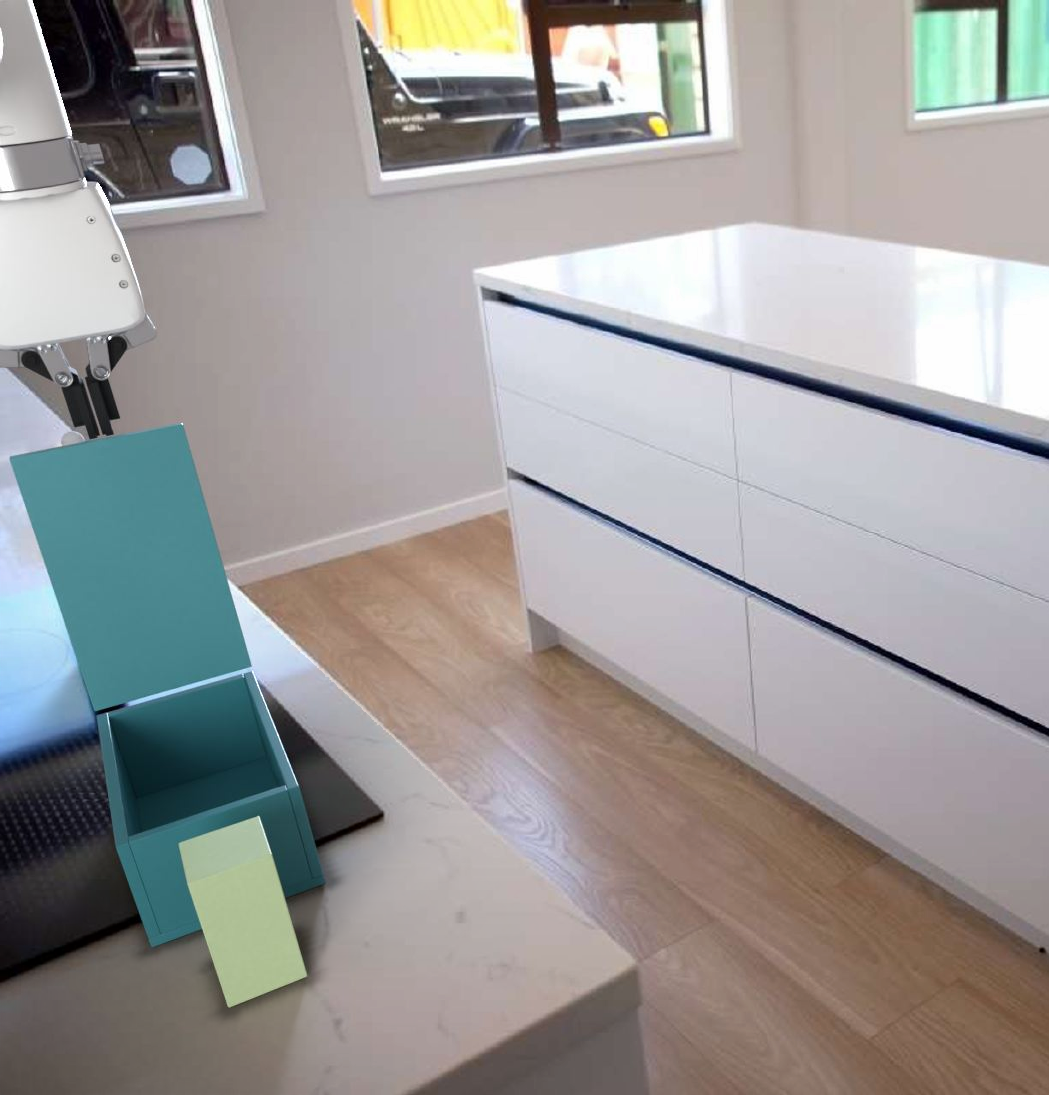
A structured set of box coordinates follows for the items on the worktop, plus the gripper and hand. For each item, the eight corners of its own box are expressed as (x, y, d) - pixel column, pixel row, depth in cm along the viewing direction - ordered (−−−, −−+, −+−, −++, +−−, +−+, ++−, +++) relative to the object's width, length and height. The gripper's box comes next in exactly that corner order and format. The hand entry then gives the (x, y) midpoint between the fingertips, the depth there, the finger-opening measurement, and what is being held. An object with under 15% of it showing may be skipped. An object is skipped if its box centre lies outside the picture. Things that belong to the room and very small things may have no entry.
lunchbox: (325, 883, 81) (299, 786, 78) (151, 948, 77) (115, 847, 74) (277, 757, 96) (252, 670, 92) (127, 805, 91) (96, 715, 88)
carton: (307, 976, 74) (272, 854, 70) (228, 1008, 72) (187, 884, 68) (293, 934, 77) (259, 815, 73) (217, 963, 75) (178, 842, 71)
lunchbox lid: (183, 424, 85) (176, 413, 89) (9, 458, 81) (10, 445, 85) (252, 666, 92) (243, 646, 96) (94, 711, 87) (92, 688, 91)
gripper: (136, 152, 89) (204, 398, 96) (-114, 179, 82) (-19, 441, 90) (146, 161, 83) (218, 423, 91) (-122, 192, 76) (-19, 471, 84)
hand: (100, 431), depth 90 cm, fingers closed
